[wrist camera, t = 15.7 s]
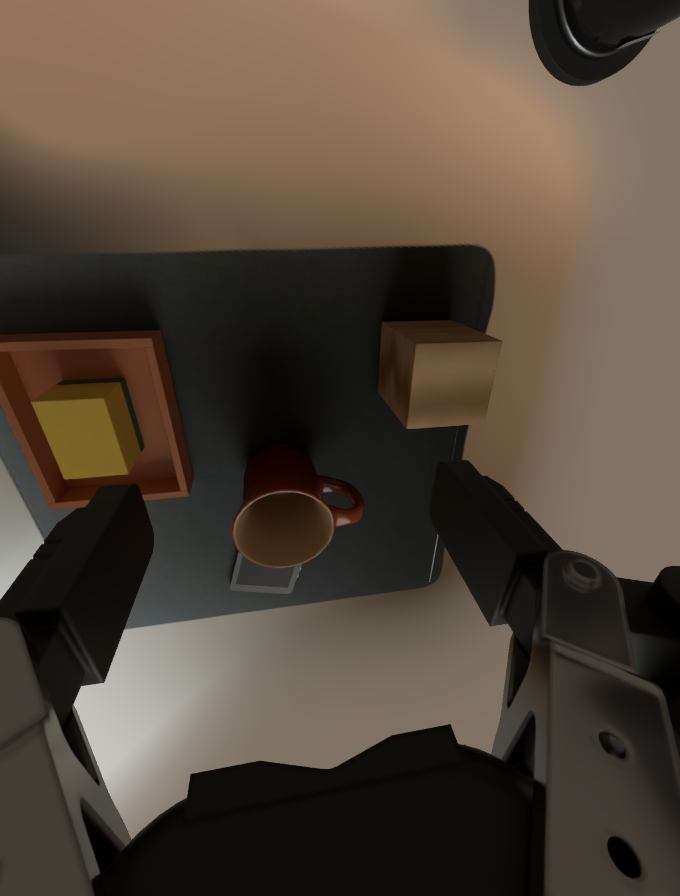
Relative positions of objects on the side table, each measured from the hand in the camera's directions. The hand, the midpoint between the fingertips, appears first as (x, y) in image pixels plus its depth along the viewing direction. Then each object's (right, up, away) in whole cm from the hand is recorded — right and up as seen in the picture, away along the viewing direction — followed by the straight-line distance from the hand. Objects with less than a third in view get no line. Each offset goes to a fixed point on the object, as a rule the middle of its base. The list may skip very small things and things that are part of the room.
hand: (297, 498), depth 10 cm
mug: (-4, -1, +30) cm, 31 cm away
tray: (-20, +4, +24) cm, 32 cm away
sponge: (-20, +4, +23) cm, 31 cm away
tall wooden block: (+9, +11, +27) cm, 30 cm away
